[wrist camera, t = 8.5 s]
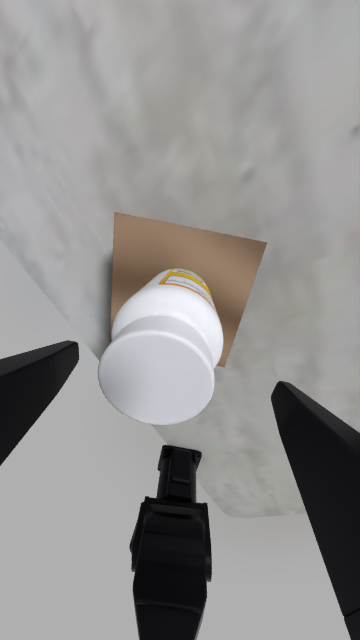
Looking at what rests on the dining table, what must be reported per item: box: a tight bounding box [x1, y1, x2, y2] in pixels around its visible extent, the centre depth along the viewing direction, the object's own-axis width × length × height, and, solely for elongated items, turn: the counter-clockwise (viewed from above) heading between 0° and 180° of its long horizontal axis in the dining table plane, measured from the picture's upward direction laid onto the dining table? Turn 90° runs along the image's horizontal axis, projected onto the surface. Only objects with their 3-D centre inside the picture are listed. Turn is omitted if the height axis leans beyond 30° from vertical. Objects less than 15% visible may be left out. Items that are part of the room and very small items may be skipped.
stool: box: [110, 212, 267, 367], centre depth 17 cm, size 11×11×5 cm
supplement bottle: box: [98, 269, 223, 425], centre depth 11 cm, size 5×5×10 cm
